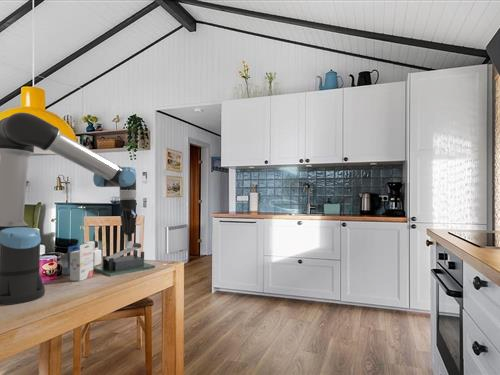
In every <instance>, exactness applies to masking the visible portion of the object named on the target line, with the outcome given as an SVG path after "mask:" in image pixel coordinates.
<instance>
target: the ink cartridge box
mask: <svg viewBox="0 0 500 375" xmlns="http://www.w3.org/2000/svg"><path fill="white" fill-rule="evenodd" d="M86 246H89V247H88V248H85V247H86ZM93 254H94V250H93V243H88V244H85V243H84V244H81V245H80V250H78V251H74V252H70V274H69V281H73V282H74V281H75V282H77V281H78V282H81V281H84V280H86V279H89V278H93V277H94V270H93V267H94V266H93Z"/></svg>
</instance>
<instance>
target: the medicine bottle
mask: <svg viewBox="0 0 500 375" xmlns="http://www.w3.org/2000/svg"><path fill="white" fill-rule="evenodd" d="M88 243H93V250H94V254H93V267H97V266H98V265H99V266H100V264H102V249H99V242H98V241H97V240H87V241H85V242H84V244H88ZM88 247H89V246H86V247H84V248H88Z"/></svg>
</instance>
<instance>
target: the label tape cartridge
mask: <svg viewBox="0 0 500 375" xmlns="http://www.w3.org/2000/svg"><path fill="white" fill-rule="evenodd" d="M80 245H82V243H80V244H76V245H71V246H68V247H67V252H66V253H64V254H62V255H60V262H61V261H62V274H61V275H70V252H74V251H78V250H80ZM61 259H62V260H61Z"/></svg>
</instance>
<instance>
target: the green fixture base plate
mask: <svg viewBox="0 0 500 375" xmlns="http://www.w3.org/2000/svg"><path fill="white" fill-rule="evenodd" d="M138 252H139V251H138V249H136V250H133V254H130V255H122V256H120V257H117V258H115V259H114V258H109V261H107V260H105V259H104V258H105V257H108V256H107V255H105V256H102V265H99V266H98V265H96V266H93V271H94V272H97V273H100V274H104V275H107V276H108V277H114V276H119V275H124V274H130V273H136V272H141V270H142V271H147V270H152V268H153V269H155V268H156V265H154V264H150V263H147V262H145V251H140V256H139V255H138ZM146 269H147V270H146Z"/></svg>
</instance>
